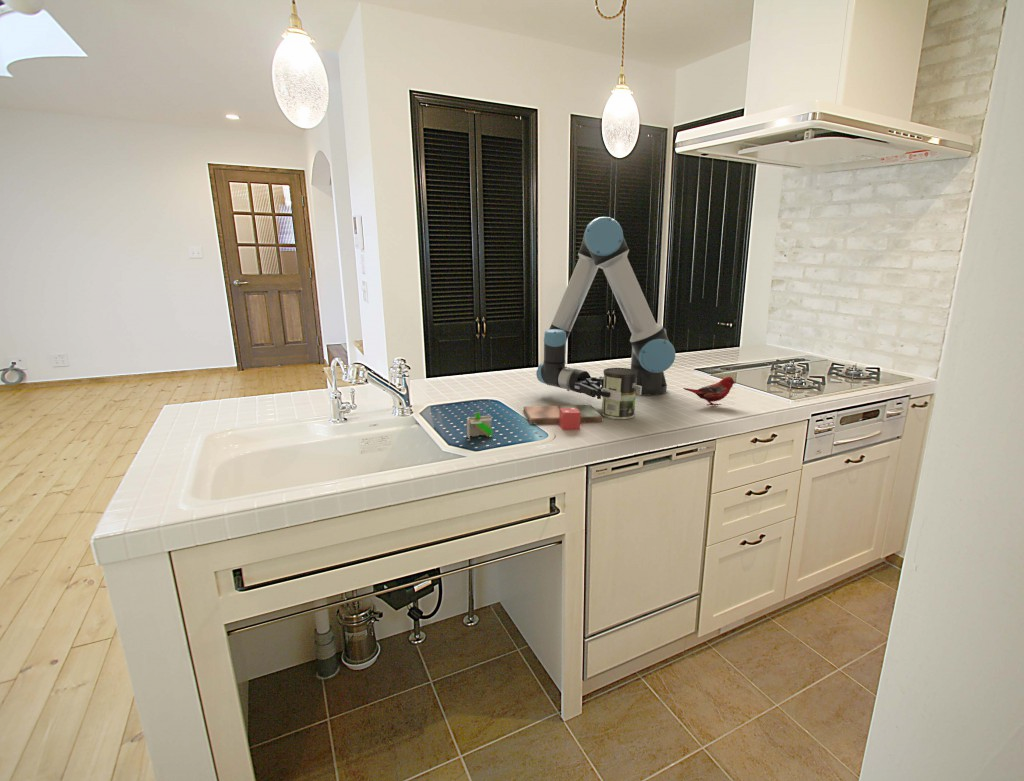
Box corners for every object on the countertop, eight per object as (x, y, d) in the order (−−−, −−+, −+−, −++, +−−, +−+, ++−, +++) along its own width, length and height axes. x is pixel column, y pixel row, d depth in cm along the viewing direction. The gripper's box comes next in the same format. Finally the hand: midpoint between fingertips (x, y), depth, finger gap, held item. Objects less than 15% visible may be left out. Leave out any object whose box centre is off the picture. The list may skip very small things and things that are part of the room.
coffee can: (634, 410, 170) (637, 368, 166) (634, 420, 160) (638, 375, 156) (601, 408, 172) (604, 366, 168) (600, 418, 162) (603, 373, 158)
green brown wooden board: (590, 409, 171) (590, 404, 171) (602, 421, 159) (602, 416, 158) (523, 411, 168) (523, 406, 168) (530, 424, 156) (530, 418, 155)
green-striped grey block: (494, 440, 144) (494, 412, 142) (470, 443, 142) (470, 414, 140) (490, 435, 147) (490, 408, 145) (467, 438, 145) (466, 410, 143)
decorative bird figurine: (735, 407, 175) (738, 377, 172) (682, 407, 174) (685, 378, 171) (731, 404, 178) (734, 375, 175) (679, 404, 177) (682, 375, 174)
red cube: (575, 423, 157) (576, 407, 155) (579, 429, 152) (580, 412, 151) (558, 424, 156) (559, 407, 155) (562, 429, 151) (563, 412, 150)
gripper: (595, 385, 185) (650, 398, 169) (551, 397, 170) (607, 412, 154) (597, 364, 183) (652, 375, 167) (552, 374, 168) (608, 387, 152)
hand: (630, 393), depth 161 cm, fingers closed on coffee can, 10 cm apart
